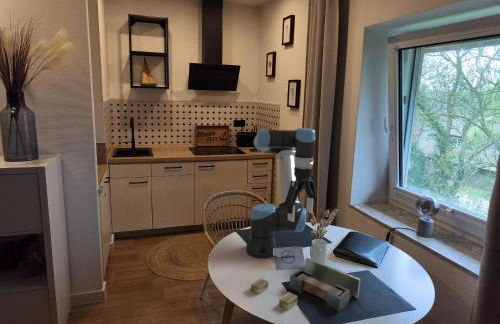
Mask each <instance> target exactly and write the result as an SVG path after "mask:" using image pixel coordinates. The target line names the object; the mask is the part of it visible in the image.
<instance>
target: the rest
mask: <svg viewBox="0 0 500 324" xmlns="http://www.w3.org/2000/svg"><path fill="white" fill-rule="evenodd" d="M269 284H270V283H269V281H268V280H265V279H264V278H262V277H260V278H258V279H257V280H255V281H254V282H251V284H250V291H251V292H253V293H255V294H256V295H260V294H262V293H264V292H265V291H267V290H268V289H269ZM297 304H298V295H296V294H294V293H292V292H290V291H288V292H287V293H285V294H284V295H282V296H281V297H280V298H279V299H278V305H279V307H281V308H283V309H284V310H286V311H290V309H291V308H293V307H294V306H296V305H297Z"/></svg>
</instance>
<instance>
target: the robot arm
mask: <svg viewBox="0 0 500 324" xmlns="http://www.w3.org/2000/svg"><path fill="white" fill-rule="evenodd" d="M315 144H316V130H315V129H313V128H309V127H300V128H297V129H290V130H289V129H259V130H257V132H256V135H255V137H254V138H253V146H254V147H255V149H256V150H258V151H259V152H262V153H265V154H270V155H272V154H274V155H275V158H276V159H277V160H278V165H279V169H278V170H279V183H280V184H279V185H280V186H279V187H280V202H279V203H278V205H277V207H276V205H274V203H269V202H266V203H259V204H256V205H255V206H253V207H252V208H251V210H250V211H251V212H250V217H249V218H250V228H249V229H250V231H249V232H250V233H249V234H250V235H249V238H248V241H247V243H246V246H245V251H246V254H248V255H249V256H251V257H254V258H257V259H268V258H272V257H274V256H273V248H277V249H278V246H277V244H276V239H275V233H302V232H303V231H304V229H305V226H306V222H307V213H309V214H313V210H314V209H313V208H314V199H316V198H317V195H318V193H317V187H316V182H315V176H313V171H314V168H313V166H314V156H315ZM303 190H305V192H306V194H307V196H308V197H306V208H305V207H303V205H302V202H301V201H300V200H299V196H300V193H301V192H303Z"/></svg>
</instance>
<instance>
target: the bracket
mask: <svg viewBox="0 0 500 324" xmlns="http://www.w3.org/2000/svg"><path fill="white" fill-rule="evenodd" d="M304 268H305V269H302V268H300V269H299V270H297V271H296V272H293V274H291V275H290V276H289V290H291V291H294V290H295V291H294V292H296V291H297V292H296V293H298V292H299V293H298V294H300V293H301V294H303V293H304V292H306V291H305V290H303V289H302V288H303V280H301V279H299V278H297V277H298V276H300V275H301V274H305V275H307V276H309V277H311V278H314V279H316V280H318V281H320V282H323V283H325V284H327V285H329V286H332V287H334V288H336V289H338V290H341V291H343V294H341V295H340V296H339V297H338V296H336V295H334V294H332V293H330V292H327V293H326V300H325V305H326V306H328V307H329V308H328V307H327V308H328V309H330V308H331V309H330V310H332V309H334V310H333V311H335V312H337V311H338V312H337V313H340V312H341V311H342V310H344V309H345V308H346V307H347V306H348V305H349V304H348V303H350V299H351V298H354V297H356V298H355V299H358V298H359V296H360V288H361V278H359V277H357V276H354V275H352V274H349V273H347V272H345V271H342V270H339V269H338V268H335V267H332V266H329V265H327V264H326V263H325V264H322V263H320V262H317V261H315V260H312V259H311V257H306V258H305V267H304ZM303 291H304V292H303ZM302 292H303V293H302ZM352 296H354V297H352ZM326 306H325V307H326ZM341 309H342V310H341ZM340 310H341V311H340ZM339 311H340V312H339Z"/></svg>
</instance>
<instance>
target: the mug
mask: <svg viewBox="0 0 500 324" xmlns="http://www.w3.org/2000/svg"><path fill="white" fill-rule="evenodd" d="M327 251H328V242H327V241H326V240H324V239H321V238H317V239H313V240H312V241H311V252H310V253H311V256H310V259H312V260H315V261H317V262H320V263H322V264H325V265H326V260H327V259H326V258H327Z"/></svg>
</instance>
